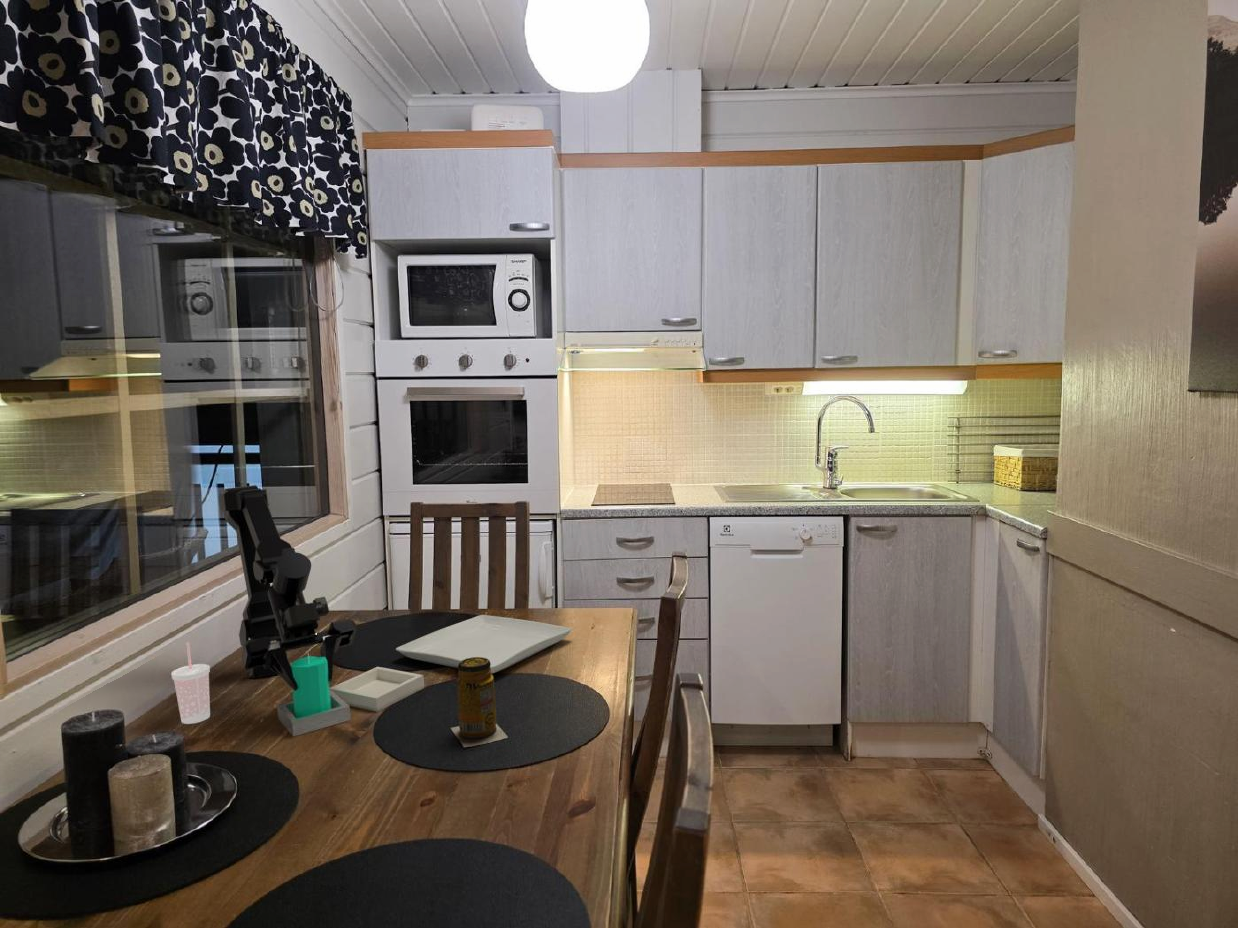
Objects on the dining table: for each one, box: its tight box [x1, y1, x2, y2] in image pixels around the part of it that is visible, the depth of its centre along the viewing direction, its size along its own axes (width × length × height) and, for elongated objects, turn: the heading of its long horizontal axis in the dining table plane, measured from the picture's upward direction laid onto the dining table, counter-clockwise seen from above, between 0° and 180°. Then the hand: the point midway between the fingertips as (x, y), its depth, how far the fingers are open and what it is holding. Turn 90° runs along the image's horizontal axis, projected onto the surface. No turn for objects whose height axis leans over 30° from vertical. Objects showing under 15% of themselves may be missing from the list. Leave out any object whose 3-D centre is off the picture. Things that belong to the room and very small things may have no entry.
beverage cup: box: [170, 641, 211, 725], centre depth 143 cm, size 6×6×14 cm
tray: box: [329, 666, 425, 713], centre depth 151 cm, size 12×12×2 cm
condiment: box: [450, 657, 509, 748], centre depth 132 cm, size 7×8×12 cm
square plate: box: [395, 614, 573, 674], centre depth 173 cm, size 27×27×4 cm
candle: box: [290, 652, 331, 718], centre depth 141 cm, size 6×6×12 cm
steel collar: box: [276, 691, 352, 737], centre depth 141 cm, size 10×10×2 cm
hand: (313, 684), depth 140 cm, fingers closed on candle, 5 cm apart
